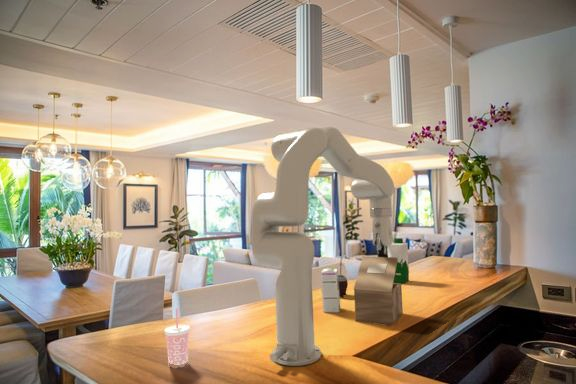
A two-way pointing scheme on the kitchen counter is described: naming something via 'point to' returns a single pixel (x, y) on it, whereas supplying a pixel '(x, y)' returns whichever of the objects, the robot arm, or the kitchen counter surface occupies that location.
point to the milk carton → (400, 260)
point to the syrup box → (330, 290)
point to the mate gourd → (342, 282)
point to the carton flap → (376, 274)
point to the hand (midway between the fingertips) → (383, 265)
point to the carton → (379, 306)
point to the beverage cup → (177, 342)
